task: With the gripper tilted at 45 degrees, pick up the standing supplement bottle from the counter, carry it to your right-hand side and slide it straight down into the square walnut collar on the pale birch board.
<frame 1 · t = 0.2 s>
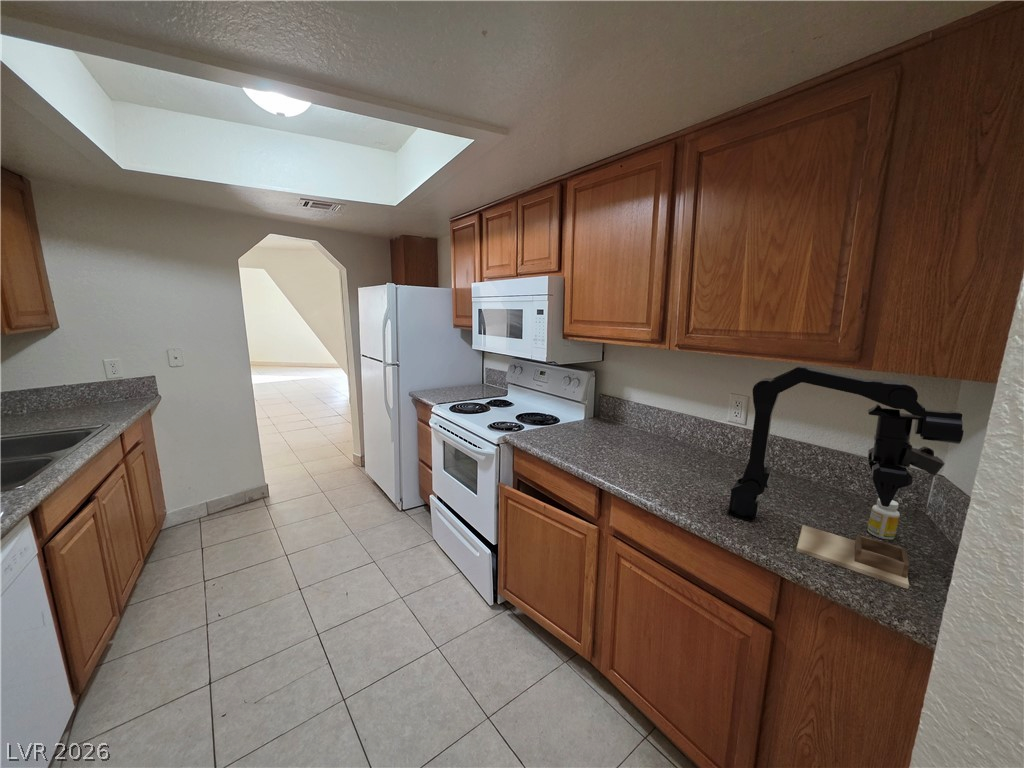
hand: (883, 499, 93), 14 cm above the worktop, tool pointing down, fingers open, 9 cm apart
socket board: (848, 555, 95), on the worktop
supplement bottle: (880, 535, 104), on the worktop
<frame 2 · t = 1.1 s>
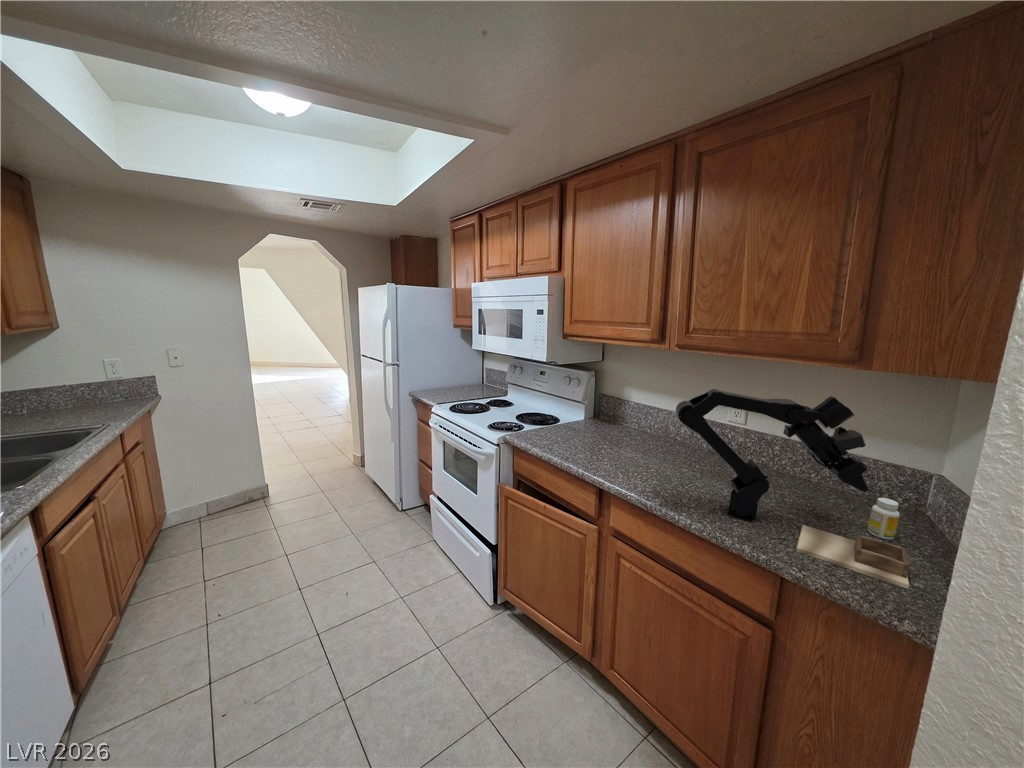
hand: (856, 483, 103), 13 cm above the worktop, tool tilted 45°, fingers open, 9 cm apart
nothing on the worktop moved.
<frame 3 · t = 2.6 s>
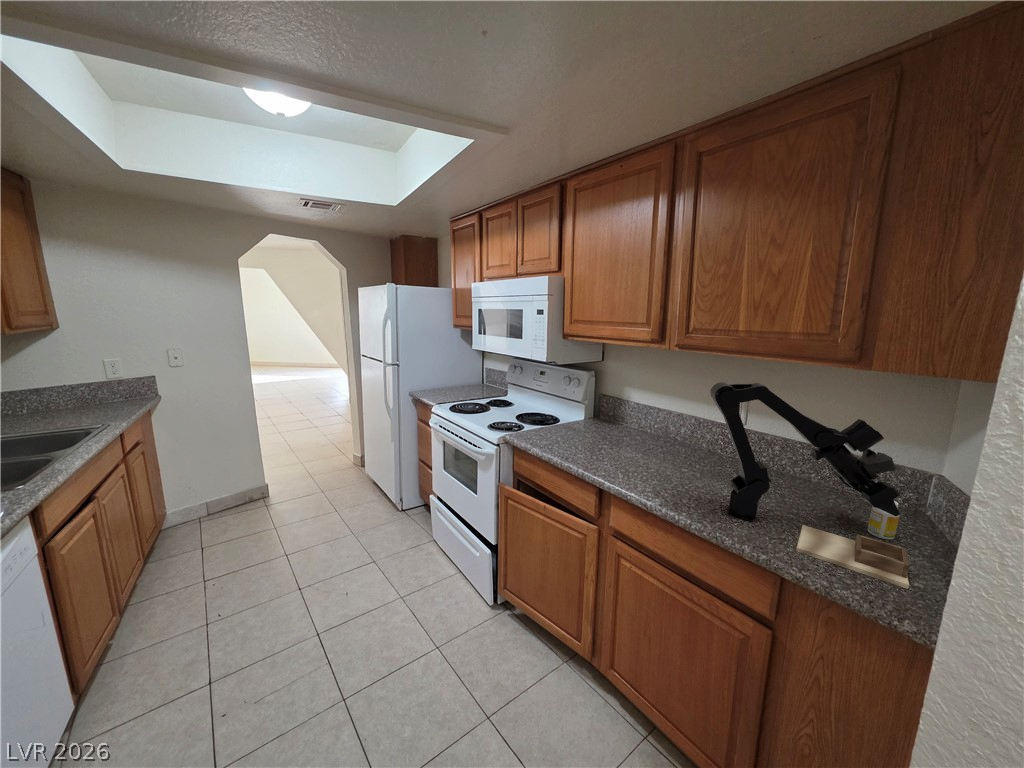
hand: (886, 506, 102), 8 cm above the worktop, tool tilted 45°, fingers open, 9 cm apart
nothing on the worktop moved.
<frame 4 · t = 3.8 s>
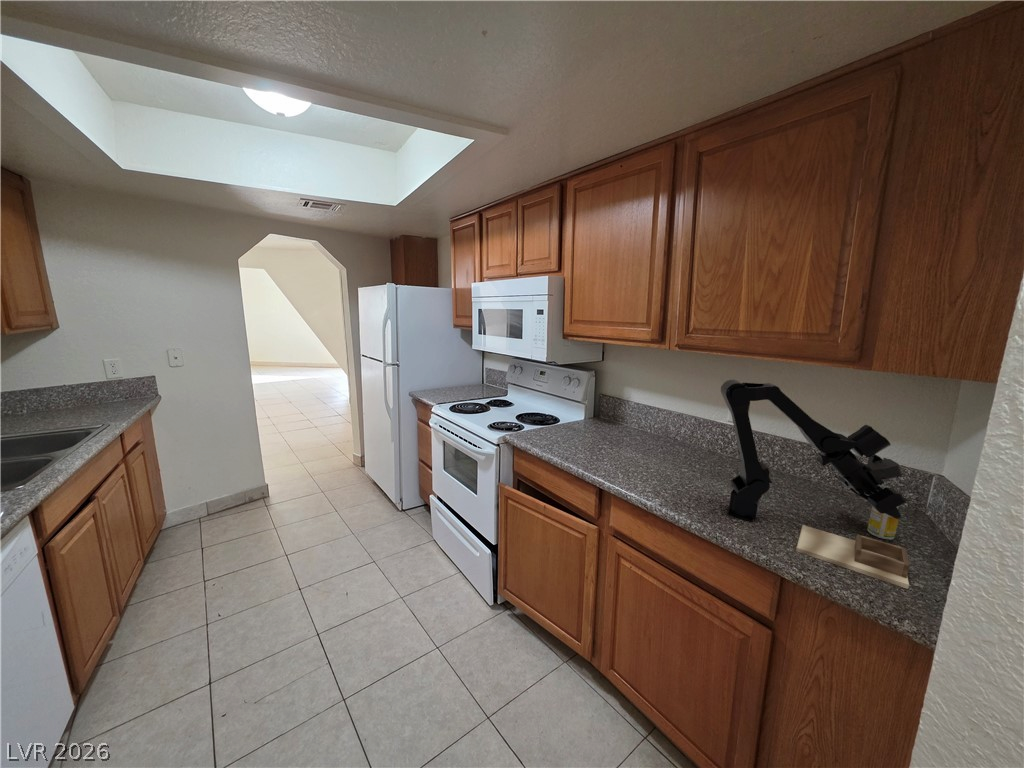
hand: (891, 512, 102), 7 cm above the worktop, tool tilted 45°, fingers closed on supplement bottle, 5 cm apart
supplement bottle: (880, 535, 104), on the worktop, touching gripper
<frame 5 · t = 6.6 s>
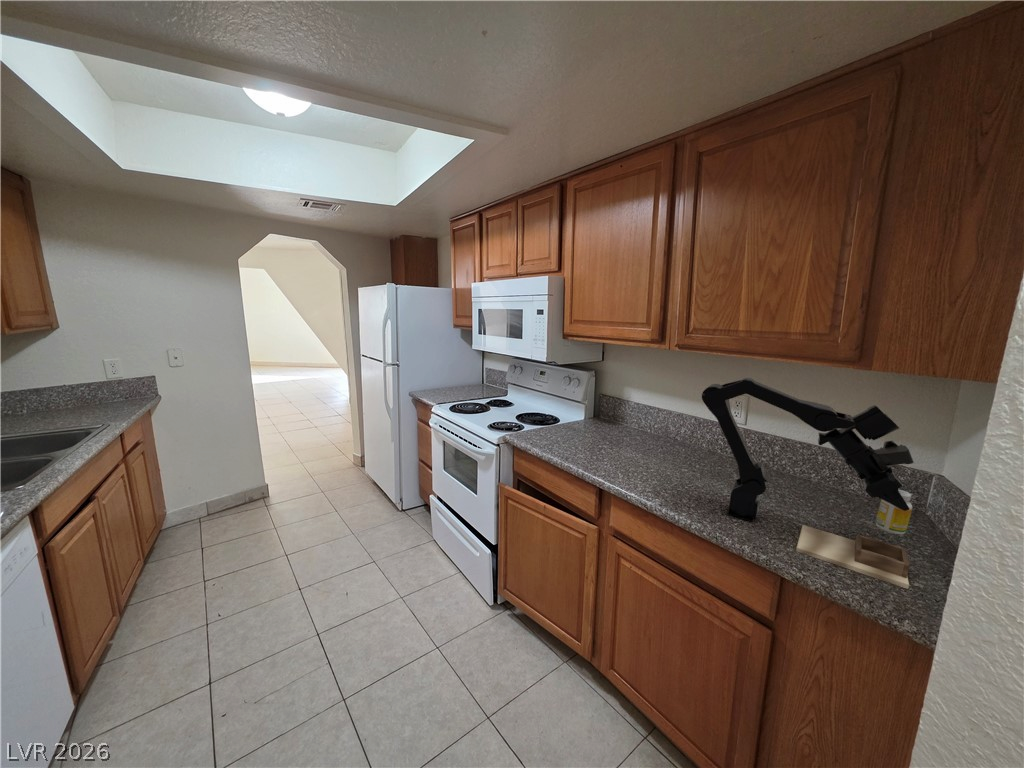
hand: (904, 505, 92), 13 cm above the worktop, tool tilted 45°, fingers closed on supplement bottle, 5 cm apart
supplement bottle: (890, 529, 95), point 6 cm above the worktop, touching gripper
when the fingers open (9 cm above the worktop, at t = 8.9 s): supplement bottle drops 2 cm, resting on socket board.
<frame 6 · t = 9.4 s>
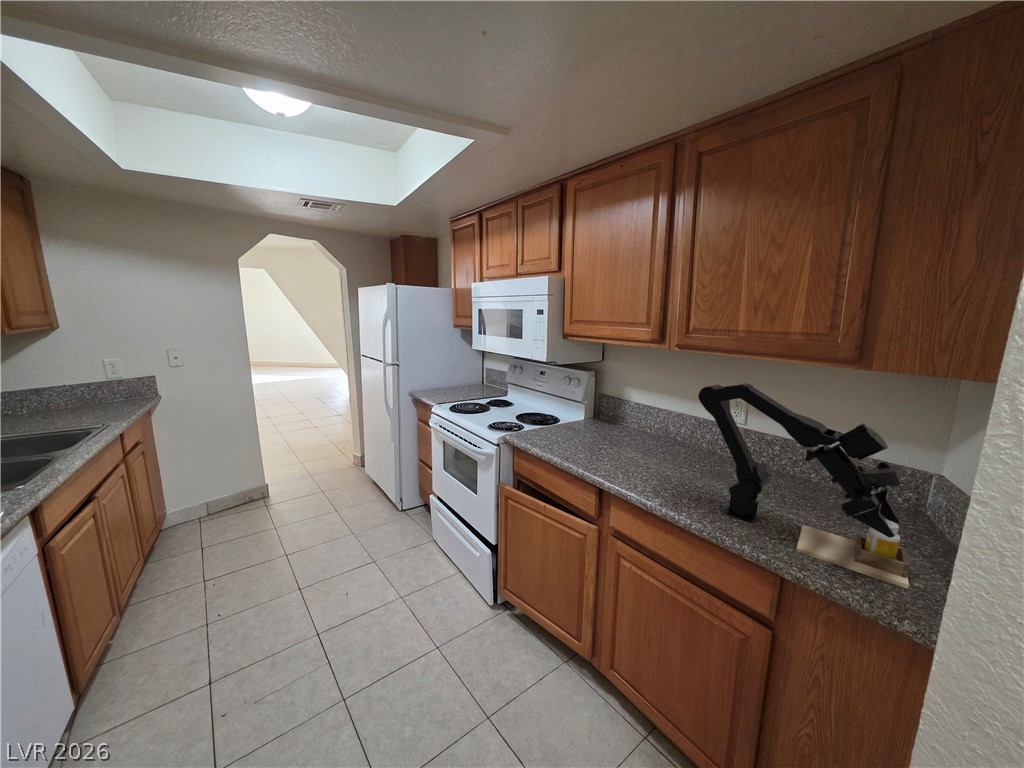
hand: (894, 529, 88), 10 cm above the worktop, tool tilted 45°, fingers open, 9 cm apart
supplement bottle: (877, 561, 91), point 1 cm above the worktop, touching socket board
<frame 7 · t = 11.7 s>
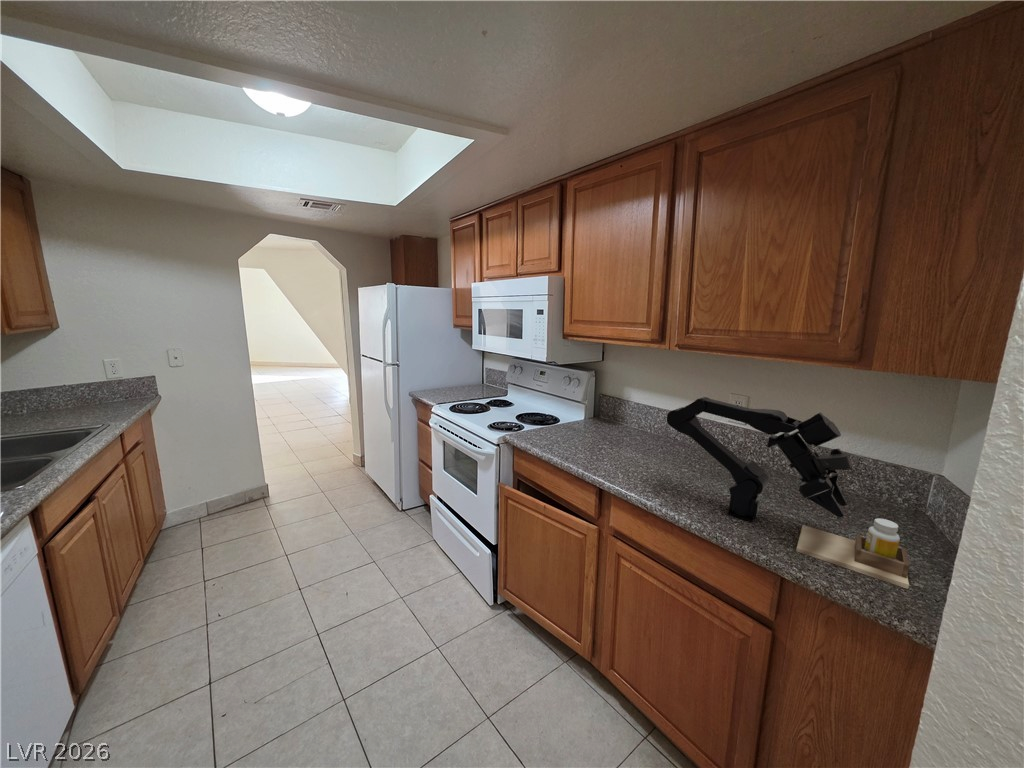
hand: (843, 511, 96), 10 cm above the worktop, tool tilted 45°, fingers open, 9 cm apart
nothing on the worktop moved.
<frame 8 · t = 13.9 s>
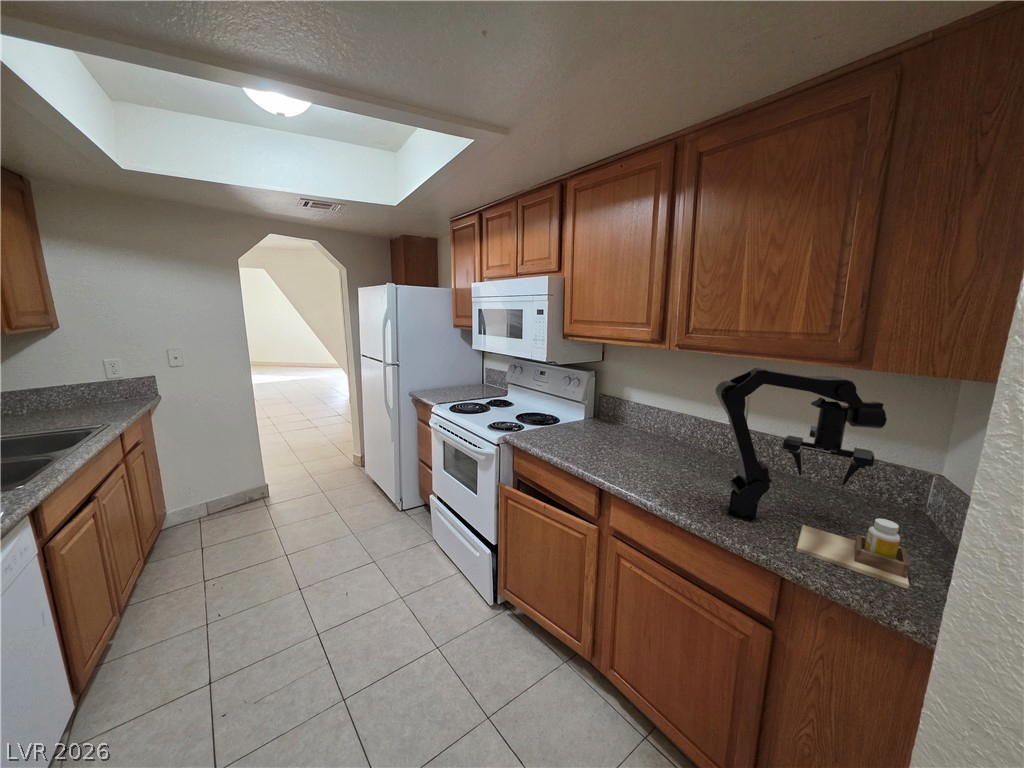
hand: (821, 479, 106), 13 cm above the worktop, tool pointing down, fingers open, 9 cm apart
nothing on the worktop moved.
at the end: supplement bottle 0.1 cm from the target spot, point 0.8 cm above the worktop; supplement bottle tilted 0°; the gripper is holding nothing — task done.
